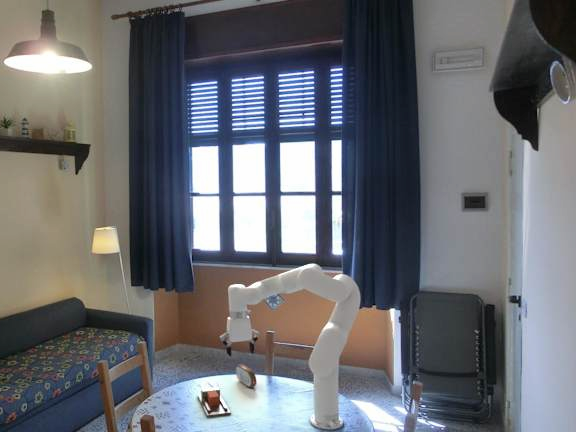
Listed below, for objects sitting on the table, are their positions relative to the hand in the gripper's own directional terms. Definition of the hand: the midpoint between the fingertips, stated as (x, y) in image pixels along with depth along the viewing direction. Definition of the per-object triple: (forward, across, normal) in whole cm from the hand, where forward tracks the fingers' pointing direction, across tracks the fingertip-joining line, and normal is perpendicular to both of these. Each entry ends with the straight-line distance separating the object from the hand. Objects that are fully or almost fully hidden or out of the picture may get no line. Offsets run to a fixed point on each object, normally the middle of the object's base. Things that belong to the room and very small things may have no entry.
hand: (240, 353), depth 211 cm
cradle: (+23, +12, -6) cm, 27 cm away
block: (+22, +12, -6) cm, 26 cm away
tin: (+24, -8, -24) cm, 35 cm away
